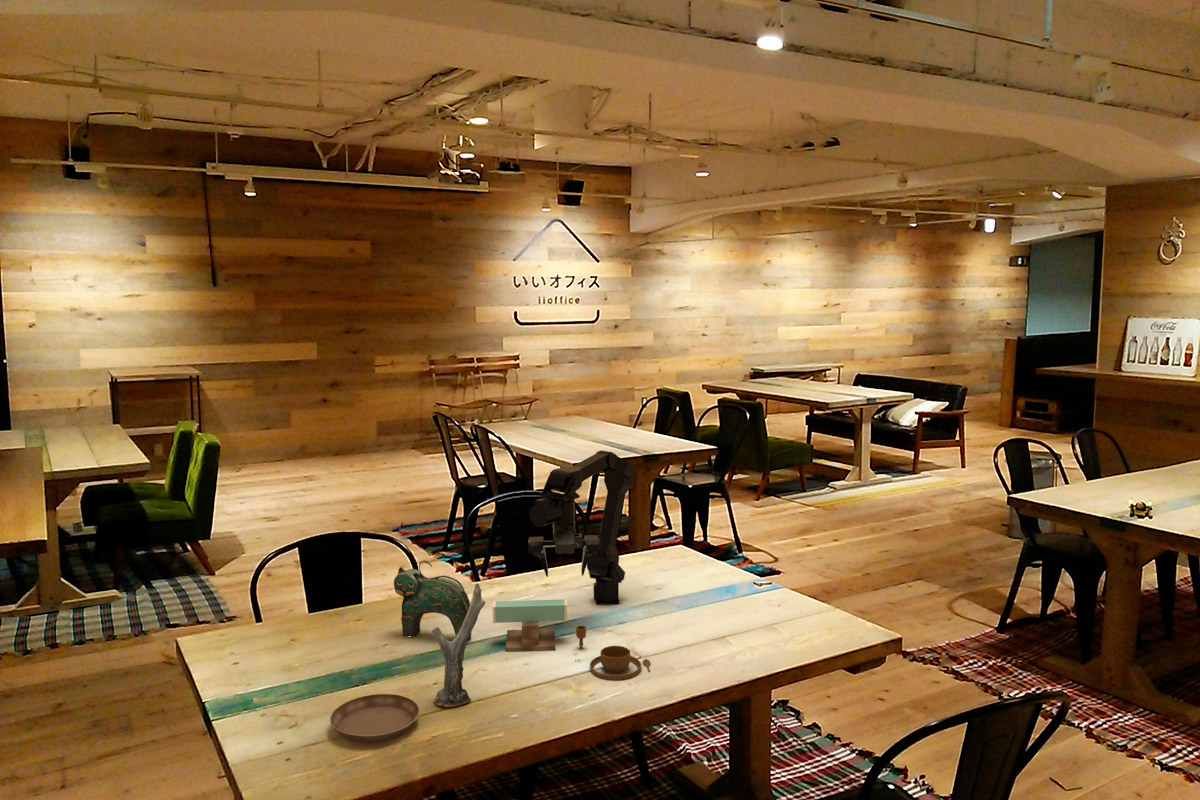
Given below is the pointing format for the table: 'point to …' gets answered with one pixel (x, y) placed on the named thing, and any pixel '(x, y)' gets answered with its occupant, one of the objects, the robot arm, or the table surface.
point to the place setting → (612, 659)
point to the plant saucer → (374, 718)
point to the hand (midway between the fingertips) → (564, 575)
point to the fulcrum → (530, 638)
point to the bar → (529, 611)
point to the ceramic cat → (430, 599)
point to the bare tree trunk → (457, 655)
